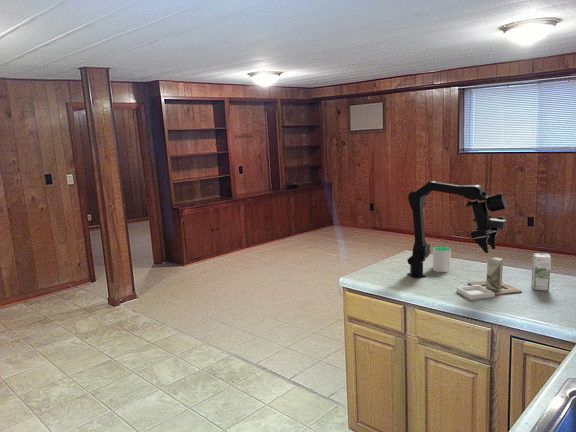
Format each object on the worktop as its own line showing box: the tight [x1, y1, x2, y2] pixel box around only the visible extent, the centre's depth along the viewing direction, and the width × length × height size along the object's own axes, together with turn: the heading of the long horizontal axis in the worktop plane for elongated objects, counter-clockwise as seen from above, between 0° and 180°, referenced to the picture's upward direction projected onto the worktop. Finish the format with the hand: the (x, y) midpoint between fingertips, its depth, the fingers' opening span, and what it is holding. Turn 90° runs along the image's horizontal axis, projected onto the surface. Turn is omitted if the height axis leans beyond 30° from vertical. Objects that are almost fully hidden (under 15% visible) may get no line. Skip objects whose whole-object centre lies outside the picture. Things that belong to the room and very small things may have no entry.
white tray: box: [456, 285, 495, 301], centre depth 186 cm, size 10×10×2 cm
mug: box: [432, 246, 452, 273], centre depth 224 cm, size 12×8×10 cm
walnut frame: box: [467, 280, 523, 297], centre depth 194 cm, size 16×14×1 cm
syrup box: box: [530, 252, 552, 292], centre depth 190 cm, size 6×6×14 cm
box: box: [485, 256, 504, 291], centre depth 192 cm, size 5×4×13 cm
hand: (490, 251), depth 193 cm, fingers open, 9 cm apart
